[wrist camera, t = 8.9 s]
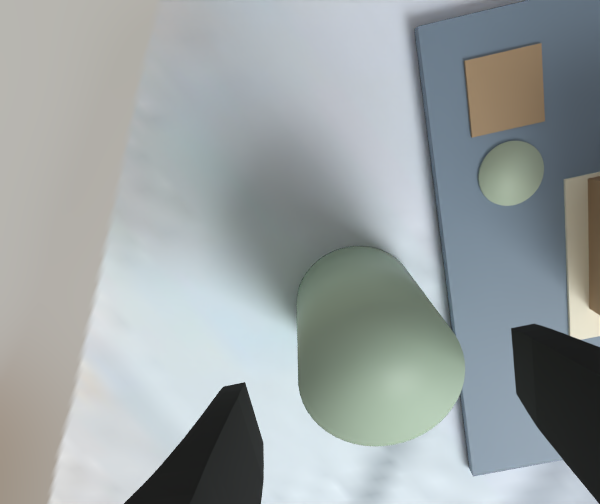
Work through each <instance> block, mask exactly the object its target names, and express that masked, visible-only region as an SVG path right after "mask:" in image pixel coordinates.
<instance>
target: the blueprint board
mask: <svg viewBox="0 0 600 504" xmlns="http://www.w3.org/2000/svg"><path fill="white" fill-rule="evenodd" d="M414 30H415V38H416V46H417V54H418V62H419V70H420V77H421V85H422V93H423V101H424V109H425V117H426V125H427V133H428V141H429V149H430V157H431V165H432V173H433V181H434V189H435V197H436V205H437V213H438V221H439V229H440V237H441V245H442V253H443V261H444V269H445V277H446V285H447V293H448V301H449V309H450V317H451V325H452V331H453V333H454V334H455V336H456V337H457V339H458V341H459V343H460V345H461V348H462V351H463V355H464V360H465V377H464V383H463V387H462V390H461V393H460V397H461V405H462V413H463V421H464V429H465V437H466V445H467V452H468V460H469V468H470V471H471V473H472V475H473V476H478V475H483V474H489V473H494V472H500V471H505V470H510V469H516V468H521V467H527V466H532V465H538V464H543V463H548V462H554V461H559V460H563V459H562V458H561V456H560V455H559V454H558V453H557V451H556V450H555V449H554V448H553V447H552V445H551V444H550V443H549V442H548V440H547V439H546V438H545V437H544V435H543V434H542V433H541V432H540V430H539V429H538V428H537V426H536V425H535V423H534V422H533V420H532V419H531V417H530V415H529V414H528V412H527V411H526V409H525V407H524V406H523V404H522V402H521V401H520V399H519V397H518V396H517V394H516V385H515V372H514V360H513V347H512V335H511V328H515V327H520V326H525V325H529V324H538V325H541V326H544V327H547V328H550V329H553V330H556V331H558V332H561V333H564V334H566V335H569V336H572V337H574V338H577V339H580V340H582V341H585V342H587V343H590V344H593V345H595V346H598V347H600V315H599V314H597V313H596V312H594V311H592V310H591V309H589V240H588V178H593V177H597V176H600V0H526V1H522V2H518V3H514V4H510V5H505V6H501V7H497V8H493V9H489V10H484V11H480V12H476V13H472V14H468V15H463V16H459V17H455V18H451V19H447V20H442V21H438V22H434V23H430V24H426V25H421V26H418V27H416V28H415V29H414Z"/></svg>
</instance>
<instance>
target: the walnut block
mask: <svg viewBox="0 0 600 504" xmlns="http://www.w3.org/2000/svg"><path fill="white" fill-rule="evenodd" d="M588 240H589V309H591V310H592V311H594V312H596V313H597V314H599V315H600V176H597V177H593V178H588Z"/></svg>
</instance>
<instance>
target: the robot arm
mask: <svg viewBox="0 0 600 504" xmlns="http://www.w3.org/2000/svg"><path fill="white" fill-rule="evenodd" d="M511 335H512V347H513V360H514V372H515V385H516V394H517V396H518V397H519V399H520V401H521V402H522V404H523V406H524V407H525V409H526V411H527V412H528V414H529V415H530V417H531V419H532V420H533V422H534V423H535V425H536V426H537V428H538V429H539V430H540V432H541V433H542V434H543V435H544V437H545V438H546V439H547V440H548V442H549V443H550V444H551V445H552V447H553V448H554V449H555V450H556V451H557V453H558V454H559V455H560V456H561V458H562V459H563V460H564V461H565V463H566V464H567V465H568V466H569V467H570V469H571V470H572V471H573V472H574V473H575V475H576V476H577V477H578V478H579V480H580V481H581V482H582V483H583V484H584V486H585V487H586V488H587V489H588V491H589V492H590V493H591V494H592V495H593V497H594V498H595V499H596V500H597V502H598V503H599V504H600V347H598V346H595V345H593V344H590V343H587V342H585V341H582V340H580V339H577V338H574V337H572V336H569V335H566V334H564V333H561V332H558V331H556V330H553V329H550V328H547V327H544V326H541V325H538V324H529V325H525V326H520V327H515V328H511ZM263 469H264V460H263V441H262V437H261V434H260V431H259V427H258V424H257V421H256V417H255V414H254V411H253V407H252V404H251V401H250V397H249V394H248V391H247V387H246V384H245V382H244V383H239V384H234V385H230V386H225V387H223V388H222V389H221V390H220V391H219V393H218V394H217V395H216V397H215V398H214V399H213V401H212V402H211V403H210V405H209V406H208V408H207V409H206V410H205V412H204V413H203V414H202V416H201V417H200V418H199V420H198V421H197V422H196V423H195V425H194V426H193V427H192V429H191V430H190V431H189V432H188V434H187V435H186V436H185V438H184V439H183V440H182V441H181V442H180V444H179V445H178V446H177V447H176V448H175V449H174V451H173V452H172V453H171V454H170V455H169V457H168V458H167V459H166V460H165V461H164V462H163V464H162V465H161V466H160V467H159V468H158V469H157V470H156V472H155V473H154V474H153V475H152V476H151V477H150V478H149V479H148V480H147V481H146V482H145V483H144V484H143V485H142V486H141V487H140V488H139V489H138V490H137V491H136V492H135V493H134V494H133V495H132V496H131V497H130V498H129V499H128V500H127V501H126V502H125V503H124V504H261V498H262V489H263Z"/></svg>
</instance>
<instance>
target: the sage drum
mask: <svg viewBox="0 0 600 504" xmlns="http://www.w3.org/2000/svg"><path fill="white" fill-rule="evenodd" d="M297 341H298V386H299V391H300V395H301V398H302V401H303V404H304V406H305V408H306V410H307V411H308V413H309V414H310V416H311V417H312V418H313V420H314V421H315V422H316V423H317V424H318V425H319V426H320V427H322V428H323V429H324V430H325V431H327V432H328V433H330V434H332V435H333V436H335V437H337V438H339V439H342V440H344V441H347V442H350V443H353V444H358V445H364V446H388V445H395V444H399V443H403V442H406V441H409V440H412V439H414V438H416V437H418V436H420V435H422V434H424V433H426V432H427V431H429V430H431V429H432V428H433V427H435V426H436V425H437V424H438V423H440V422H441V421H442V420H443V419H444V418H445V417H446V416H447V414H448V413H449V412H450V411H451V409H452V408H453V406H454V405H455V403H456V401H457V400H458V398H459V395H460V393H461V390H462V387H463V383H464V377H465V360H464V355H463V351H462V348H461V345H460V343H459V341H458V339H457V337H456V336H455V334H454V333H453V331H452V330H451V329H450V327H449V326H448V325H447V323H446V322H445V321H444V319H443V318H442V317H441V315H440V314H439V313H438V311H437V310H436V309H435V307H434V306H433V305H432V303H431V302H430V301H429V299H428V298H427V297H426V295H425V294H424V293H423V291H422V290H421V288H420V287H419V286H418V284H417V283H416V282H415V280H414V279H413V278H412V276H411V275H410V274H409V272H408V271H407V270H406V268H405V267H404V266H403V265H402V264H401V263H400V262H399V261H398V260H397V259H396V258H394V257H393V256H392V255H390V254H388V253H386V252H384V251H382V250H379V249H376V248H372V247H365V246H352V247H345V248H342V249H338V250H335V251H333V252H331V253H329V254H327V255H325V256H323V257H322V258H321V259H319V260H318V261H317V262H316V263H315V264H314V265H313V266H312V267H311V268H310V269H309V270H308V272H307V273H306V274H305V276H304V278H303V279H302V282H301V284H300V286H299V290H298V294H297Z"/></svg>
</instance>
